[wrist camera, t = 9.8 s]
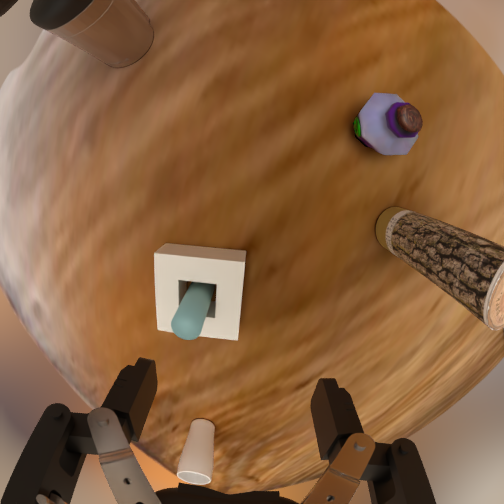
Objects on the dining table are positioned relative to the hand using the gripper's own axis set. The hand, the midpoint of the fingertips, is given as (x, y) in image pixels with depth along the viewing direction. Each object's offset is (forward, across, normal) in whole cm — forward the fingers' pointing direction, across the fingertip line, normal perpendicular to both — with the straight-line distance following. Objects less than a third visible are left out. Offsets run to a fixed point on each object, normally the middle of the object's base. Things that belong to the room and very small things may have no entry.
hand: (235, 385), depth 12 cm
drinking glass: (+28, +5, +43) cm, 52 cm away
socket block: (+28, +6, +8) cm, 30 cm away
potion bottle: (+29, -16, -18) cm, 37 cm away
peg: (+28, +6, +8) cm, 30 cm away
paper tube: (+28, -22, -4) cm, 36 cm away
